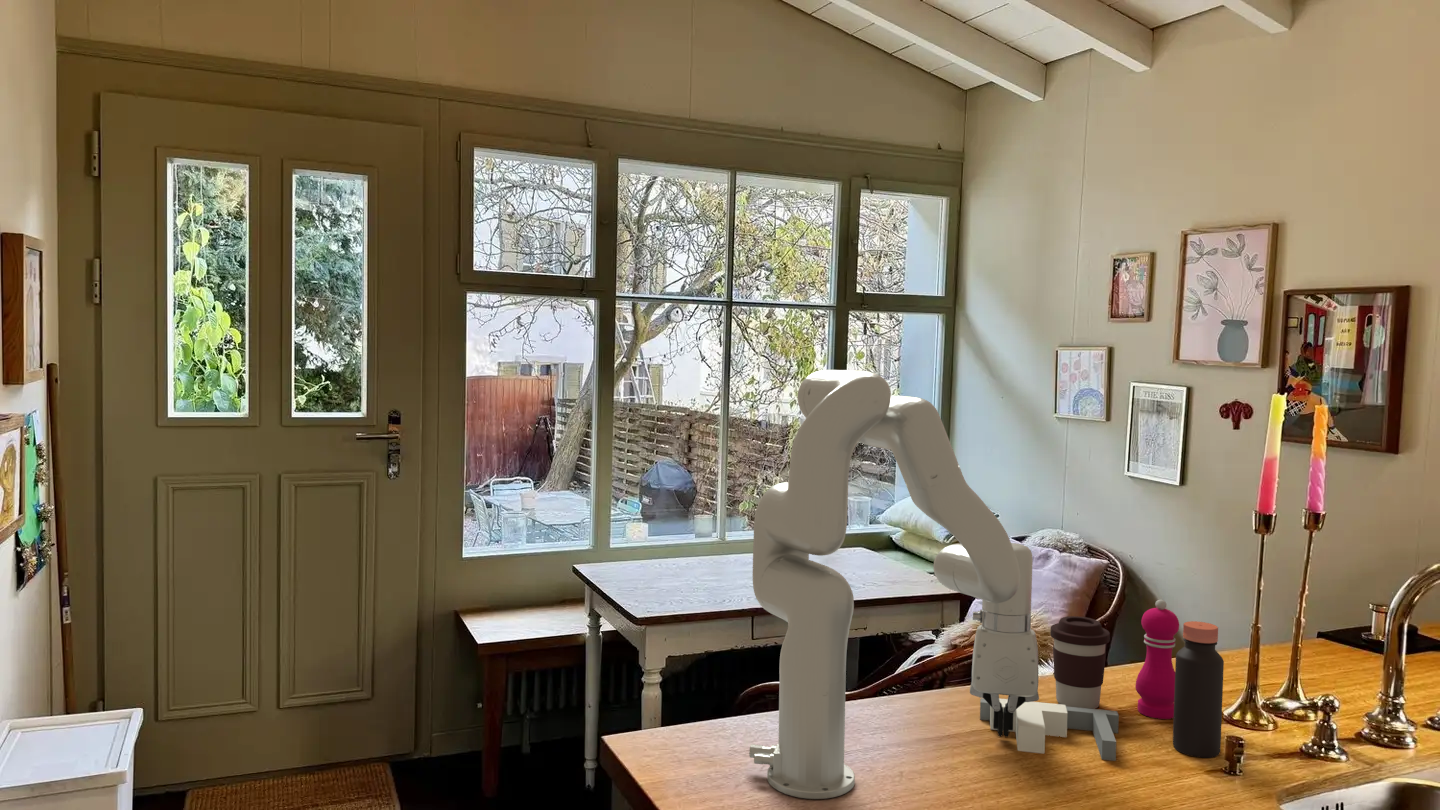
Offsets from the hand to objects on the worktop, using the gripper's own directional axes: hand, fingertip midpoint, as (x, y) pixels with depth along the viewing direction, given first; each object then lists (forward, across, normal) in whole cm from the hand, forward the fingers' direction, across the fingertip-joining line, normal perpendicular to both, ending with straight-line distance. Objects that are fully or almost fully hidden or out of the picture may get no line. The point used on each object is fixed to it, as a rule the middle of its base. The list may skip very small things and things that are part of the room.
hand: (1002, 733), depth 158 cm
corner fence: (+1, +8, +3) cm, 8 cm away
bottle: (+1, +30, +4) cm, 30 cm away
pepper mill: (+1, +27, +20) cm, 34 cm away
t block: (+1, +4, +2) cm, 5 cm away
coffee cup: (+1, +14, +21) cm, 25 cm away
